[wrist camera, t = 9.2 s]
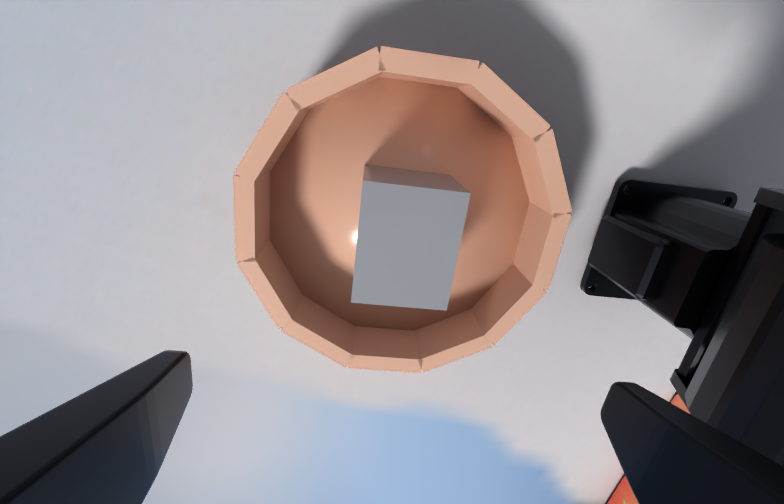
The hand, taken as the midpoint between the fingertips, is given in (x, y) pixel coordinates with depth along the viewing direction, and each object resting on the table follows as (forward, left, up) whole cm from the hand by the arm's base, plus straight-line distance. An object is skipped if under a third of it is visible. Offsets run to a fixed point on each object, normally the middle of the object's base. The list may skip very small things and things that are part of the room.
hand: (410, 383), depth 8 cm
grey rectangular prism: (-1, 0, -11) cm, 11 cm away
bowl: (-1, 0, -12) cm, 12 cm away
